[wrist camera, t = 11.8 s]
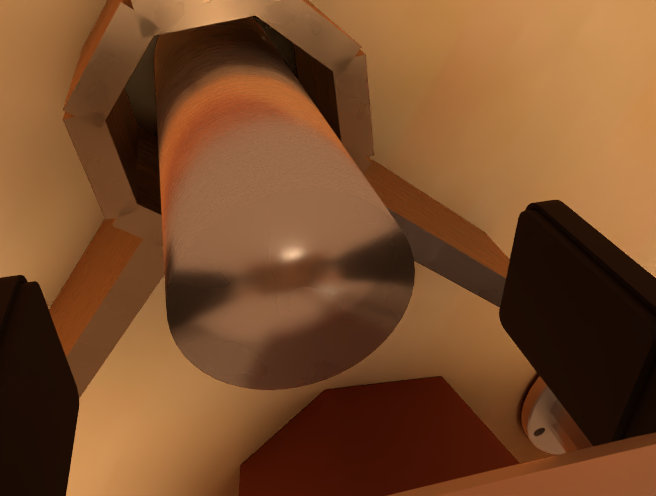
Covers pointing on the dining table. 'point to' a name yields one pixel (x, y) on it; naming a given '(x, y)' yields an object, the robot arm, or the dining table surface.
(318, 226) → the hinge pin
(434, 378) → the bucket
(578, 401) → the robot arm
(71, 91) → the hinge
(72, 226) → the dining table surface
